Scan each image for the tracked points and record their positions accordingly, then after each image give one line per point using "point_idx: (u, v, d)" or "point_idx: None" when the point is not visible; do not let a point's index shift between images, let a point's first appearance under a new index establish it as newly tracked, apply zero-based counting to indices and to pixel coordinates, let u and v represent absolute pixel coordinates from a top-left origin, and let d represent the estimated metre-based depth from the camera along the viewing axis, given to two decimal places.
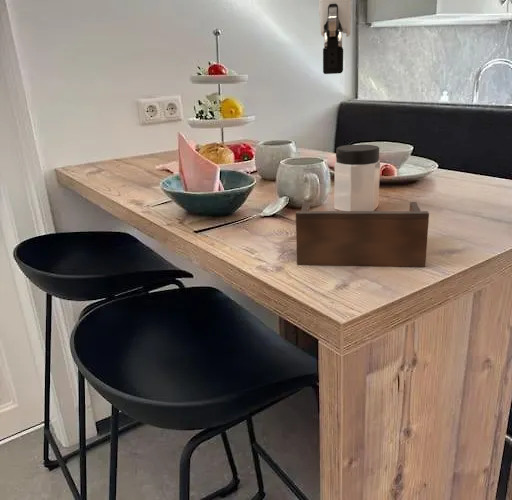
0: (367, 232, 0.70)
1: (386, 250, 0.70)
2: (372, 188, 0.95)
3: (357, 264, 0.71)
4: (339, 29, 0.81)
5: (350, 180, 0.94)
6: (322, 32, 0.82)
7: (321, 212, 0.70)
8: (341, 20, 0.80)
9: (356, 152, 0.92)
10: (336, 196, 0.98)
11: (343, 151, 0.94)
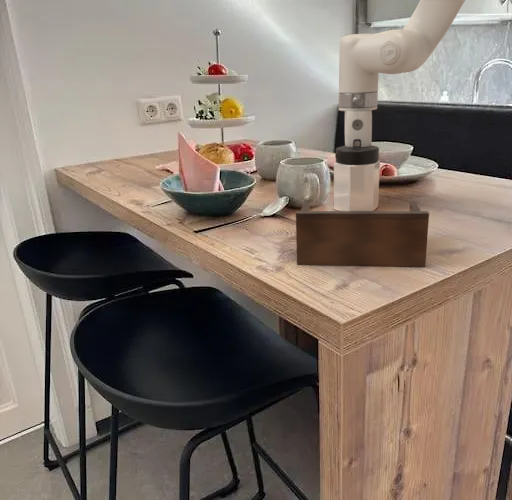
0: (367, 232, 0.70)
1: (386, 250, 0.70)
2: (371, 189, 0.94)
3: (357, 264, 0.71)
4: None
5: (349, 180, 0.94)
6: None
7: (321, 212, 0.70)
8: None
9: (355, 152, 0.92)
10: (335, 196, 0.98)
11: (342, 151, 0.93)
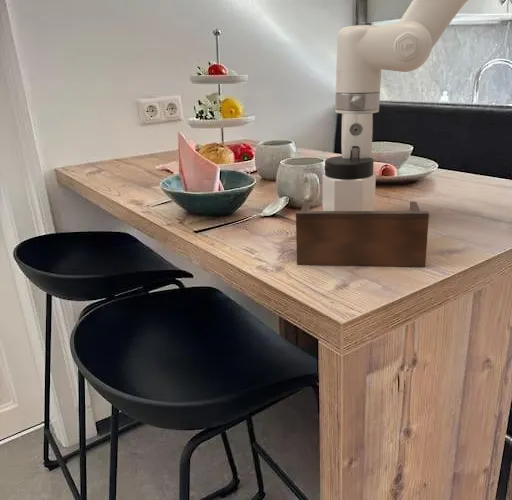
0: (367, 232, 0.70)
1: (386, 250, 0.70)
2: (359, 207, 0.83)
3: (357, 264, 0.71)
4: None
5: (334, 196, 0.83)
6: None
7: (321, 212, 0.70)
8: None
9: (340, 165, 0.81)
10: None
11: (328, 163, 0.83)
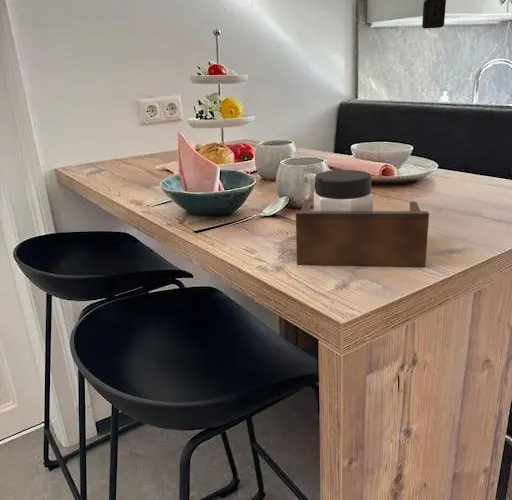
0: (367, 232, 0.70)
1: (386, 250, 0.70)
2: None
3: (357, 264, 0.71)
4: None
5: None
6: None
7: (321, 212, 0.70)
8: None
9: (327, 182, 0.70)
10: None
11: (316, 178, 0.72)
